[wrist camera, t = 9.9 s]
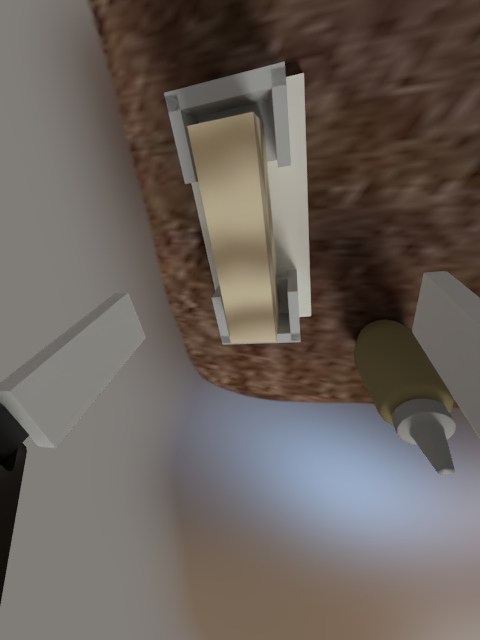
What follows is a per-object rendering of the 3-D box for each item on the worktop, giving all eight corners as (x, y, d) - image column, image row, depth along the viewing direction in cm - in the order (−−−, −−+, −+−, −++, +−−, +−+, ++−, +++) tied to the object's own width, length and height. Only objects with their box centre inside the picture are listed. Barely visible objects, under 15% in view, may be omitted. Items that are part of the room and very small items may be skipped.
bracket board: (177, 106, 26) (144, 92, 20) (303, 75, 24) (307, 49, 18) (223, 317, 38) (211, 346, 32) (310, 312, 36) (314, 343, 30)
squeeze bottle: (341, 322, 36) (377, 446, 20) (408, 302, 33) (508, 429, 18) (357, 366, 39) (399, 501, 24) (420, 351, 36) (513, 495, 21)
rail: (215, 133, 25) (187, 125, 18) (263, 123, 24) (253, 111, 17) (243, 305, 34) (231, 342, 27) (279, 303, 33) (276, 341, 26)
